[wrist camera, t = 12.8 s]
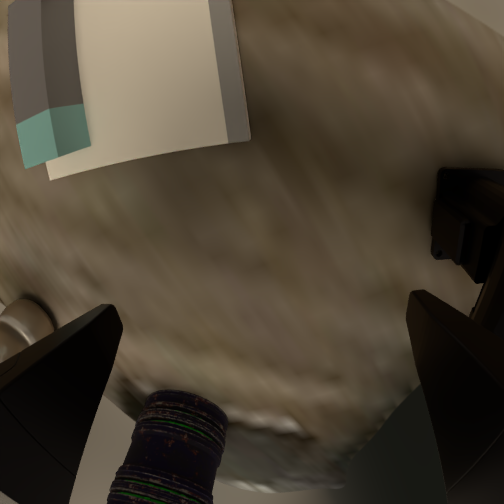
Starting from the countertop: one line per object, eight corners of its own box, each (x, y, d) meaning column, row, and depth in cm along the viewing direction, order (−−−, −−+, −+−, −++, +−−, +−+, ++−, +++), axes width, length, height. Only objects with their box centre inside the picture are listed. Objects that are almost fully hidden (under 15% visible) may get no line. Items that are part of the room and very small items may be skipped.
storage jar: (230, 441, 34) (209, 549, 20) (154, 428, 35) (120, 525, 21) (227, 397, 29) (198, 534, 16) (136, 381, 30) (84, 500, 17)
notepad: (222, -58, 12) (219, -65, 11) (251, 138, 18) (249, 140, 17) (36, 15, 14) (28, 14, 13) (57, 176, 20) (49, 180, 19)
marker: (73, -9, 13) (41, -18, 10) (91, 145, 18) (58, 157, 15) (40, 10, 13) (8, 5, 10) (58, 156, 19) (25, 169, 15)
